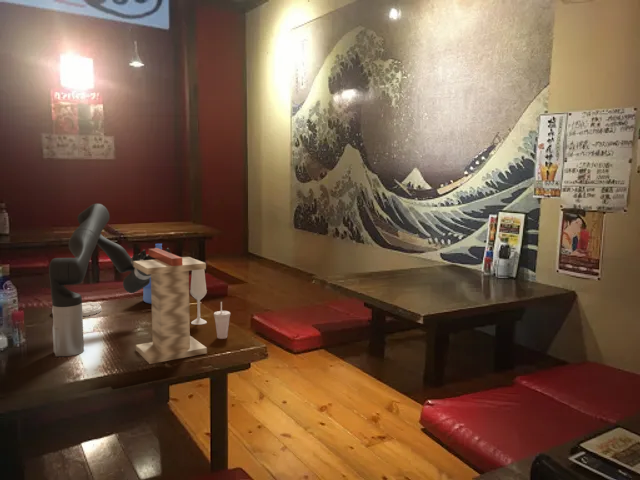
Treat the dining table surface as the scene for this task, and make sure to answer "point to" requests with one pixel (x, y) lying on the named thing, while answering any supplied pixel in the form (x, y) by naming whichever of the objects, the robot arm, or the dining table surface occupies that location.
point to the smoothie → (222, 323)
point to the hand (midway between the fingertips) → (156, 251)
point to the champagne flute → (198, 292)
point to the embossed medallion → (89, 308)
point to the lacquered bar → (165, 257)
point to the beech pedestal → (170, 311)
